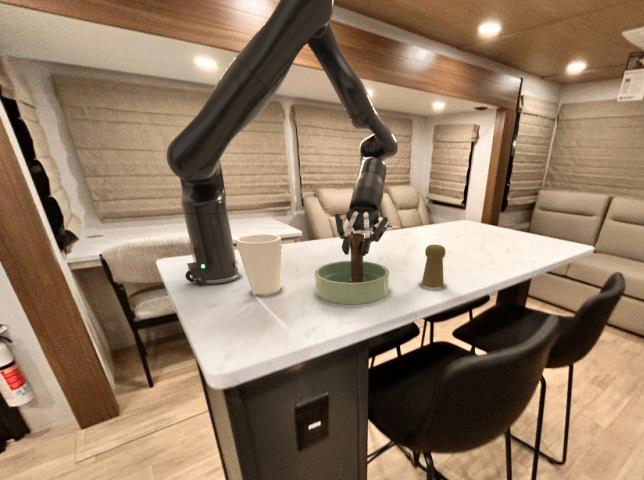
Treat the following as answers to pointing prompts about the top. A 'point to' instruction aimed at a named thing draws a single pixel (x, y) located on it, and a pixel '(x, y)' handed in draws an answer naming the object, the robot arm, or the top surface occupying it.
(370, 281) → the bowl
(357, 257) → the rod
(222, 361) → the top surface
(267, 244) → the foam cup
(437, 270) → the cork
